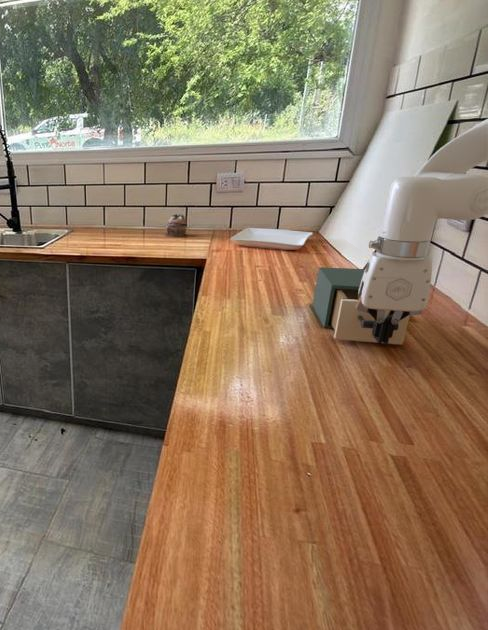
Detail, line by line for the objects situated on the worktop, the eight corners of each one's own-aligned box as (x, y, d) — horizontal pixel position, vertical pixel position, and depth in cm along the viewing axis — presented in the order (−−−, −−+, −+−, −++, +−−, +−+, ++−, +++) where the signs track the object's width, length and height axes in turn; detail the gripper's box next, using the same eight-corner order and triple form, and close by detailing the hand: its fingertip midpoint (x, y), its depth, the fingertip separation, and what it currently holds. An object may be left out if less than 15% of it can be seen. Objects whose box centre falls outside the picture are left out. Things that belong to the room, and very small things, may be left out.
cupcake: (186, 233, 213) (187, 212, 209) (186, 238, 204) (187, 215, 201) (165, 233, 215) (166, 212, 211) (165, 237, 206) (166, 215, 203)
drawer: (411, 354, 89) (422, 313, 85) (340, 348, 92) (348, 308, 89) (380, 319, 106) (389, 283, 102) (321, 315, 109) (328, 280, 106)
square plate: (228, 247, 184) (229, 237, 183) (246, 235, 205) (247, 226, 203) (301, 253, 169) (302, 243, 168) (312, 240, 190) (314, 231, 189)
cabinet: (392, 333, 100) (403, 288, 96) (323, 328, 104) (331, 285, 100) (371, 310, 114) (380, 269, 110) (312, 306, 118) (318, 267, 114)
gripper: (360, 251, 80) (341, 344, 87) (461, 254, 76) (434, 352, 82) (350, 242, 87) (333, 329, 93) (442, 244, 82) (418, 336, 89)
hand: (380, 340), depth 88 cm, fingers closed
